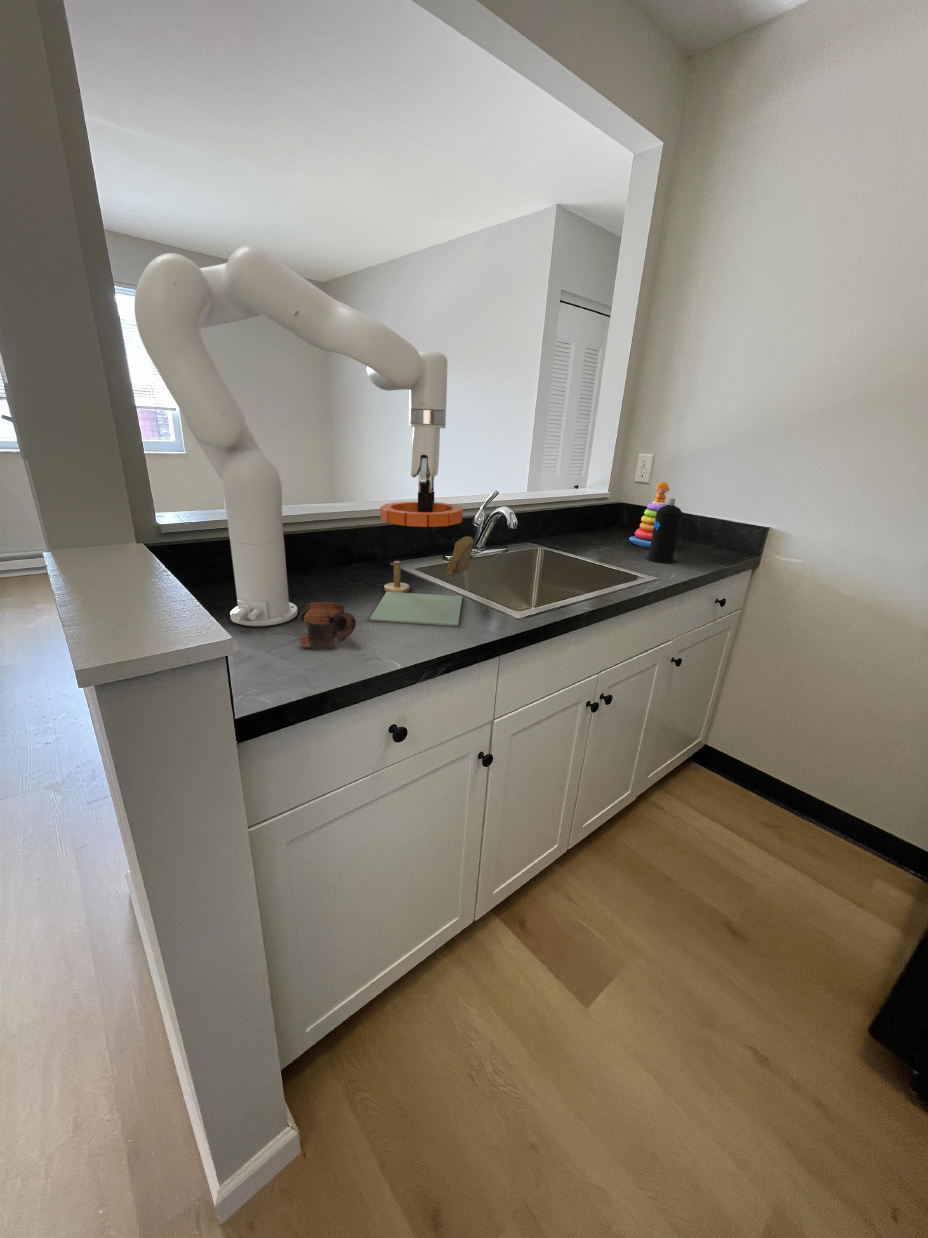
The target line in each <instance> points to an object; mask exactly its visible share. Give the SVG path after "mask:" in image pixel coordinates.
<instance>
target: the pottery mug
mask: <svg viewBox="0 0 928 1238" xmlns="http://www.w3.org/2000/svg"><path fill="white" fill-rule="evenodd" d="M302 608H303V611H301V612H300V613H299V614H298V616H297V620H299V622H300V623H301V622H303V621H304V622H305V623H306V628H307V632H308V633H306V634H301V635H300V644H301V647H302V648H317V649H334V647H335V641H336V640H337V641H338V642H340V643H342V642H344V641H345V640H346V639H347V637H349V636H351V635H352V633H353V632H354V630H355V628H356V626H357V620H356V618H355V616H354V615H353V613H349V612H345V608H346V606H345V605H343V604H341V603H337V602H329V601H328V602H326V601H321V602H320V601H318V602H316V601H315V602H308V603H304V604H303V605H302Z"/></svg>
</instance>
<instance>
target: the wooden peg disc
mask: <svg viewBox="0 0 928 1238" xmlns="http://www.w3.org/2000/svg"><path fill="white" fill-rule="evenodd" d="M401 568H402V567H401V561H400V560H394V561H393V582H389V583H386V584H384V591H385V593H386V592H400V593H409V592H410V585H409V584H408V583H406V582H401V572H402V571H401Z"/></svg>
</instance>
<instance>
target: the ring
mask: <svg viewBox="0 0 928 1238" xmlns="http://www.w3.org/2000/svg"><path fill="white" fill-rule="evenodd" d="M463 511H464V508H463V507H462V506H459V505H456V504H451V503H447V502H436V501H434V502H433V511H432V512H419V511H418V501H416V500H415V501H397V502H389V503H384V504H383V505H381V506H380V507H379V512H380V513H379V514H380V520H381V521H383V522H384V523H387V524H389V525H390V524H392V525H397V526H403V527H405V526H406V527H416V528H417V527H421V528H427V527H428V528H433V527H435V528H436V527H449V526H453V525H458V524H461V523H462V522H463V516H464V515H463V514H464V513H463Z"/></svg>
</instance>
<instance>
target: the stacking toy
mask: <svg viewBox="0 0 928 1238" xmlns="http://www.w3.org/2000/svg"><path fill="white" fill-rule="evenodd" d="M654 490H655V491H656V494H655V496H654V498H655V499H654V500H653V501H652V502H651V503H648V505H647V506H646V509H645V510H644V512H643V514H644V515H642V516H641V519H640V521H641V523H640V524H639V528H637V529H636V530H635V531H634V536H630V537H629V540H628V541H630V542H631V543H633V544H634V545H636V546H637V547H641V548H645V549H650V544H651V539H652V533H653V528H654V523H655V518H656V510H658V509H659V508H660V507H662V506H666V505H668V502H666V499H667V497H666V493H667V492H669V491H670V490H671V489H670V487H669V484H668V483H667V482H666V481H663V480H662V481H660V482H658V483H657V485H656V486H655V487H654Z"/></svg>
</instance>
